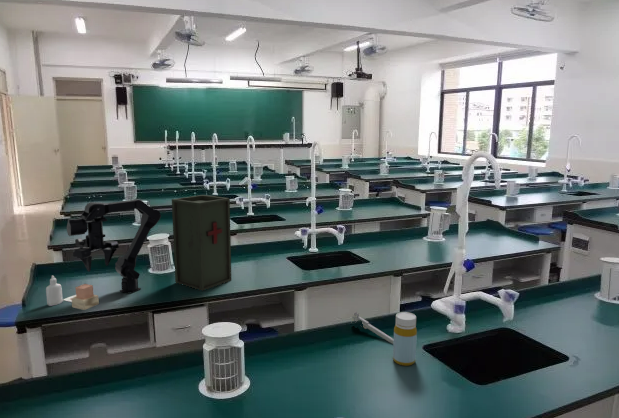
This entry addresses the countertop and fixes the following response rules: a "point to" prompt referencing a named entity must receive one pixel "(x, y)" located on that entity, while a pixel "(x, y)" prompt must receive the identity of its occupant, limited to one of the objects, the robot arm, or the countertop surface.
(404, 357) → the bottle
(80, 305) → the beech base block
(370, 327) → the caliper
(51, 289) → the eye dropper bottle
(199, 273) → the first aid box
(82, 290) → the terracotta brick
